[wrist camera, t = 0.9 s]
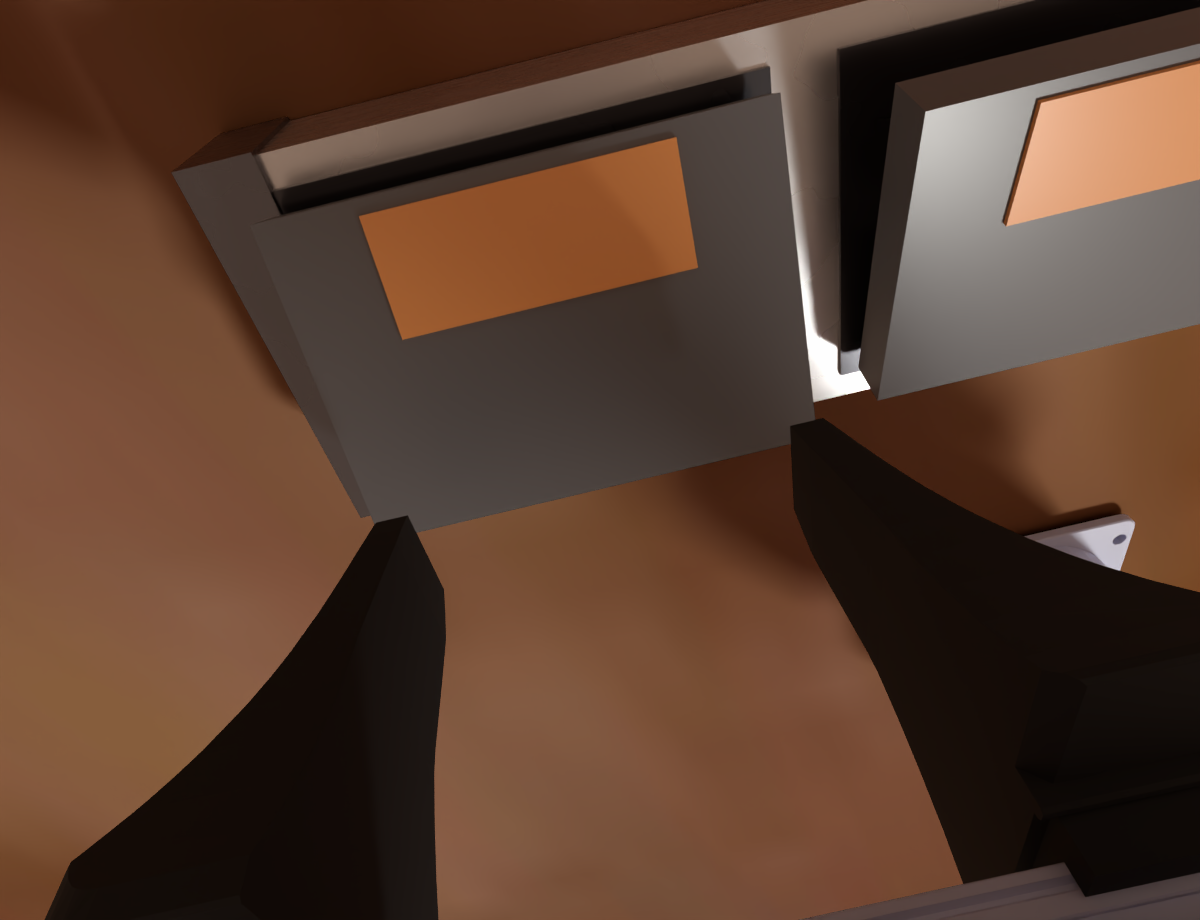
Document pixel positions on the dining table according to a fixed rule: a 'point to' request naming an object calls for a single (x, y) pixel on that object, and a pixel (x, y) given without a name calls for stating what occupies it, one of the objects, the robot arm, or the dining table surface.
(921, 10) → the grey switch panel
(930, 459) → the dining table surface
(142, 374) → the dining table surface
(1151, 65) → the rocker
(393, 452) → the panel
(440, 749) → the dining table surface
